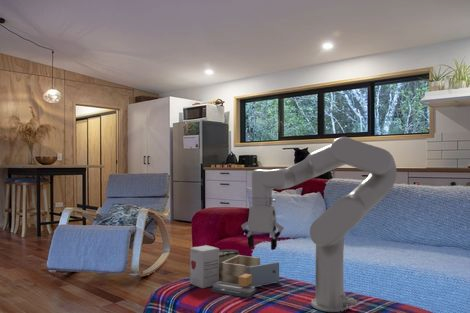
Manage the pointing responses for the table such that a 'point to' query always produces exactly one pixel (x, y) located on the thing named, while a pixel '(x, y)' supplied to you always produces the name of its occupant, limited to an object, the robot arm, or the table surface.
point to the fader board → (233, 289)
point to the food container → (226, 255)
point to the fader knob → (245, 280)
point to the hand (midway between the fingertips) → (262, 248)
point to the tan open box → (236, 268)
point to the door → (263, 274)
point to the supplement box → (204, 266)
